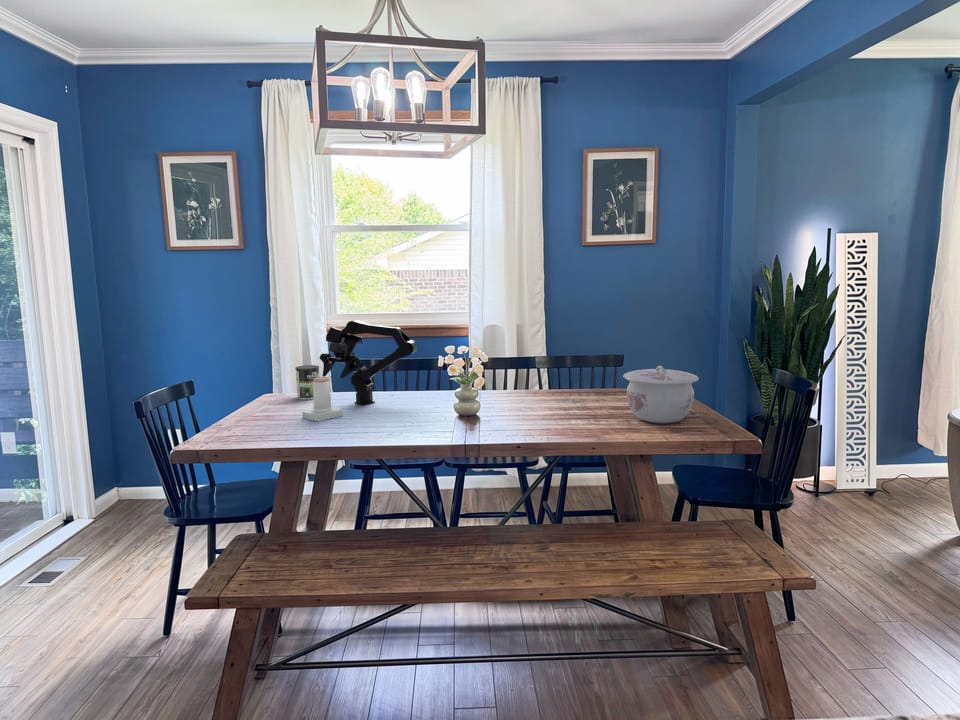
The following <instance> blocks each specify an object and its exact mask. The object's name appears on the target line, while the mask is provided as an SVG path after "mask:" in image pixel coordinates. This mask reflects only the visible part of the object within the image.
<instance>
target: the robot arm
mask: <svg viewBox="0 0 960 720" xmlns="http://www.w3.org/2000/svg"><path fill="white" fill-rule="evenodd" d="M362 334H363V335H364V334H370V335H379V336H384V337H386V336H387V337H392V338H393V339H394V341H395V343H396V345H397V346H398V347H397V348H396V349H395V350H394V351H393V352H392V353H390V354H389V355H387V356H386V357H384V358H383V359H381V360H379V361H378V362H376V363H374V364H373V365H371V366H370V367H369V368H367V367H366V366H363V362H362V361H361V359H360V358H359V357H358V355H355V353H354V351H355V349H356V347H357V345H358V344H361V345H363V344H364V339H363V338H362ZM325 342H328V343H329V347H328V352H332V354H333V356H332V355H331V353H320V356H319V360H320V361H321V362H322V363H323V367H322V377H327V375H328V374H329V372H330V371H331V370H332V369H333V367H334V365H335V363H339V364H345V366H344V368H343V370H342V372H341V374H340V376H339V377H340V379H341V380H342V379H343V378H346V377H347V376H348V375H349V374H351V373H352V374H353V375H351V377H350V384H352V386H353V387H354V389H355V391H356V392H355V401H354V404H358V405H361V406H365V405H370V404H375V403H376V401H374V399H373V397H374V396H373V387H374V383H375V382H373V380H371V379H372V378H373V377H374V376H375V375H376V374H378V373H380V372H381V371H383V370H384V369H385V368H387V367H388V366H390V365H392V364H393V363H395V362H397V361H398V360H401V359H403V358H405V357H408V356H411V355H412V354H414V353H415V352H417V351H418V345H417V343H416V342H415V340H412V339H411V338H410V337H409V335H407V334H406V333H405V332H404V331H403V330H402V329H401V327H399V326H387V325H380V324H379V325H378V324H372V323H369V322H368V323H367V322H365V321H362V320H359V319H353V320H350V321H348V322H347V323H346V325H345V327H344V328H342V329H340V328H337V327H335V326H330V327H329V330H328V331H327V334H326V336H325ZM362 366H363V367H362Z"/></svg>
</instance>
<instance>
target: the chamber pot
mask: <svg viewBox="0 0 960 720" xmlns="http://www.w3.org/2000/svg"><path fill="white" fill-rule="evenodd" d="M622 376H623V378H624V379H625V380H628V381H629V383H628V385H627V387H626V397H627V403H628V406H629V408H630V410H631V412H632V413H633V415H634V416H635V417H636V418H637V419H639V420H642V421H643V422H646V423H651V424H660V425H666V424H667V425H668V424H673V423H677V422H680V421H682V420H683V419H684V418H685V417H686V416H687V415H688V414H689V412H690V410H691V409H692V407H693V403H694V399H695V389H694V388H693V386H692V384H693V383H696V382H697V381H699V377H698V375H696V374H693V373H690V372H687V371H683V370H675V369H665V368H664V367H663V366H662V365H658V366H657V367H656V368H647V369H646V368H645V369H637V370H632V371H628V372H625V373H624V374H623V375H622Z"/></svg>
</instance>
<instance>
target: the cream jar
mask: <svg viewBox="0 0 960 720" xmlns="http://www.w3.org/2000/svg"><path fill="white" fill-rule="evenodd" d="M331 397H332V396H331V380H330V378H329V377H327V376H325V377H323V376H319V377H317V378H314V379H313V398H314V399H313V407H312V410H313V412H315V413H326V412H330V411H332V407H333V406H332V400H331Z"/></svg>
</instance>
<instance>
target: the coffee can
mask: <svg viewBox="0 0 960 720" xmlns="http://www.w3.org/2000/svg"><path fill="white" fill-rule="evenodd" d="M294 368H295V375H296V376H295V377H296V378H295V379H296V381H295V382H296V392H297V393H296V395H297V397H296V398H297V400H303V401H305V400H308V401H310V400H314V398H313V379H314V378H317V377H320V366H319V365H315V364H312V365H311V364H309V365H299V366H295V367H294Z"/></svg>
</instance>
